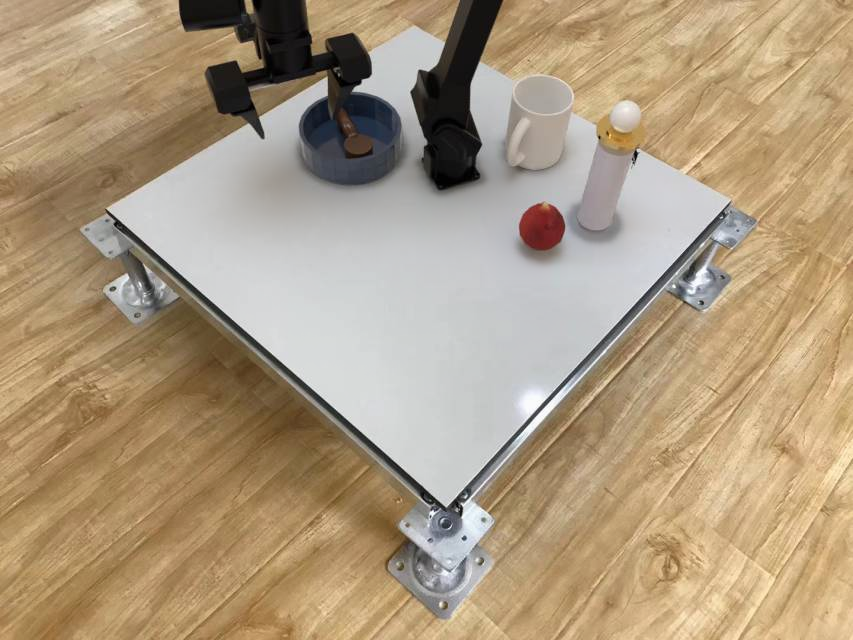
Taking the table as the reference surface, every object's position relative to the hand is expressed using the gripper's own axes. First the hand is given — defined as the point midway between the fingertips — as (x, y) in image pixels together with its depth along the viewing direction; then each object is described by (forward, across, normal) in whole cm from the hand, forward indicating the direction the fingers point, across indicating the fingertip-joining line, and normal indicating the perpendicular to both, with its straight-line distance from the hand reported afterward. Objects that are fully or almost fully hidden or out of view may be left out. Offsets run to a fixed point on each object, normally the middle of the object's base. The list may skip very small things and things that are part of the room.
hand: (297, 127), depth 97 cm
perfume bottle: (+11, -34, +20) cm, 41 cm away
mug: (+11, -31, +6) cm, 34 cm away
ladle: (+10, -9, -5) cm, 14 cm away
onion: (+11, -25, +21) cm, 34 cm away
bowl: (+11, -8, -5) cm, 15 cm away
